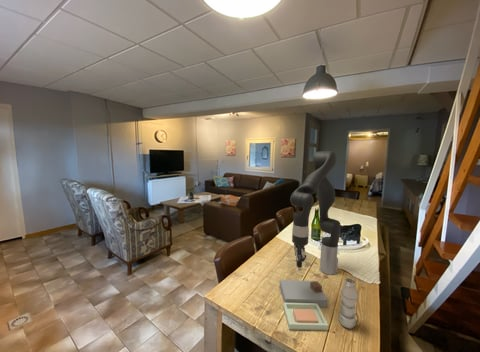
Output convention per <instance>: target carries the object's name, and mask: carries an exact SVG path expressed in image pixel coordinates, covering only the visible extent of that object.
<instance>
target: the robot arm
mask: <svg viewBox="0 0 480 352" xmlns="http://www.w3.org/2000/svg"><path fill="white" fill-rule="evenodd" d="M336 162H337V155H336V153H335V152H334V151H331V150H325V151H324V150H322V151H315V152H314V153H313V156H312V163H313V164H312V165H313V169H314V170H313V171H312V172H311V173H309V174H308V175H307V177H306V178H305V179H304V181H303V182H302V184H301V185H300V186H298V187H297V188H296V189H295V190H294V191H293V192H292V193H291V195H290V199H289V201H290V205H292V206H294V207H297V208H301V209H302V210H296V211H295V212H294V213H293V221H292V223H293V224H292V229H291V230H292V233H291V234H292V235H291V242H292V243H293V248H294V255H295V259H296V268H298V269H300V268H301V269H302V267H303V262H305V261H306V259H307V254H305V252H306V248H305V246H308V244H309V235H310V233H309V232H310V231H309V230H310V228H309V224H310V223H309V221H310V214H311V210H312V208H313V205H314V203H315V202H314V201H315V199H314V196H313V195H314V194H315V193H316V192H317V199H318V211H319V213H318V214H319V218H318V219H319V222H318V224H319V229H320V230H321V231H322V232H323V233H325V234H329V235H330V236H324V237H322V238H321V246H320V257H319V271H320V272H322V273H324V274H327V275H335V274H338V267H339V258H338V250H339V248H338V247H339V242H340V241H339V240H340V235H341V226H342V225H341V221H339V220H337V219H335V218H330V217H329V210H330V208H331V207H332V206H333V205H334V203H335V201H336V194H335V187H334V185H333V184H332V183H331V181H330V180H329V179H328V178H327V176H328V174H330V172H331V170H332V169H333V168H334V167H335V165H336V164H337V163H336Z"/></svg>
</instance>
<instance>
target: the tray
mask: <svg viewBox="0 0 480 352" xmlns="http://www.w3.org/2000/svg"><path fill="white" fill-rule="evenodd" d="M282 308H283V312H284V316H285V320H286V323H287V327H288V330H289V331H319V332H320V331H321V332H322V331H326V332H328V331H329V324H328V322H327V319H326V318H325V315H324V314H323V312H322V310H321V307H319V306H318V304H317V303H284V301H283V305H282ZM293 309H313V310H314V312H315V314H316V316H317V319H318V323H298V322H295V320H294V317H293Z"/></svg>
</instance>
